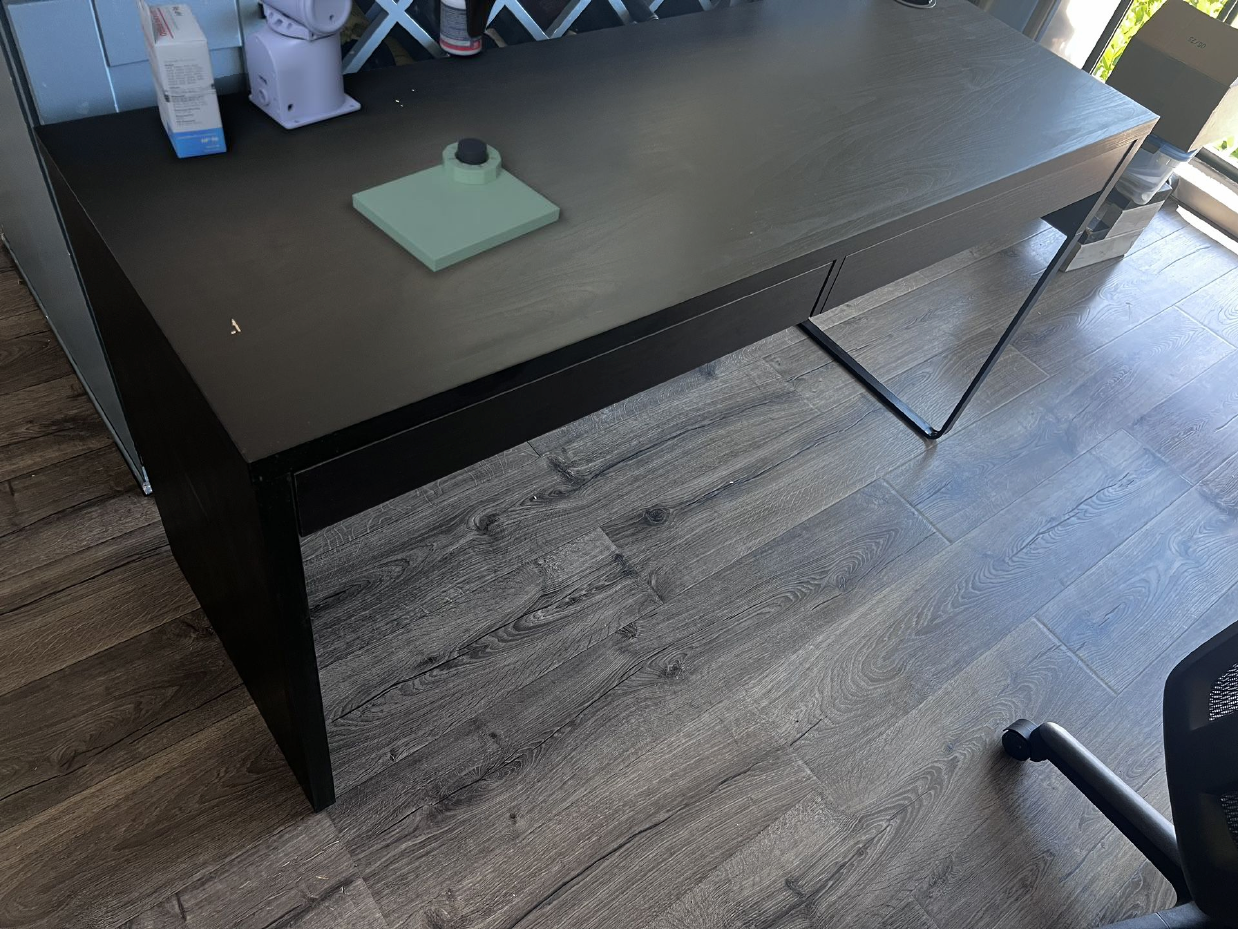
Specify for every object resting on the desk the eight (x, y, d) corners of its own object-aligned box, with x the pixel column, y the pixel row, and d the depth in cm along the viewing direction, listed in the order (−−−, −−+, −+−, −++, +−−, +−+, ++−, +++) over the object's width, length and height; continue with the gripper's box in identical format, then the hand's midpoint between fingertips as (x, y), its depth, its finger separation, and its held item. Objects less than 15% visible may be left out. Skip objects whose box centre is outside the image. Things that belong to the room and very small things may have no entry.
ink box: (229, 153, 97) (204, 6, 86) (178, 159, 95) (145, 10, 84) (209, 113, 102) (182, -31, 91) (159, 118, 99) (126, -28, 89)
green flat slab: (434, 272, 88) (434, 245, 86) (350, 204, 94) (348, 177, 92) (558, 220, 97) (561, 194, 95) (475, 161, 103) (476, 135, 101)
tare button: (469, 169, 97) (470, 155, 95) (451, 156, 98) (451, 142, 97) (492, 161, 98) (492, 147, 97) (473, 148, 99) (474, 134, 98)
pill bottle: (478, 59, 117) (481, -15, 111) (436, 52, 117) (437, -23, 110) (483, 41, 121) (486, -32, 115) (443, 35, 120) (443, -39, 114)
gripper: (532, -77, 106) (524, 43, 116) (452, -120, 112) (450, -2, 122) (484, -69, 103) (479, 54, 112) (403, -114, 108) (405, 7, 118)
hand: (461, 26), depth 117 cm, fingers closed on pill bottle, 5 cm apart
